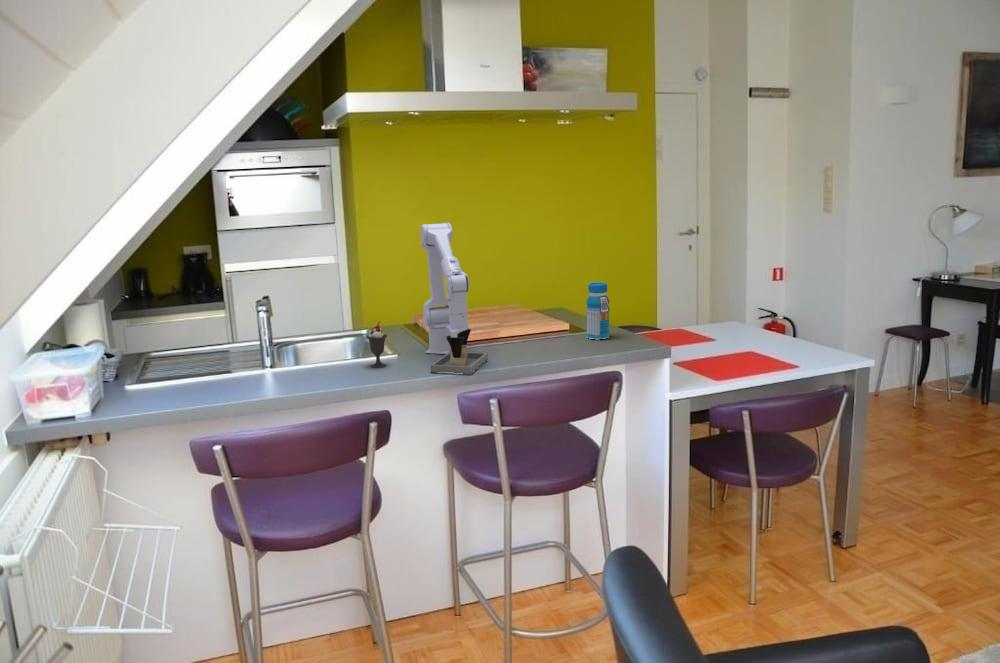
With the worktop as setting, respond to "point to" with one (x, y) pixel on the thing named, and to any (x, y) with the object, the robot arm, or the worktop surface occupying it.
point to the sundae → (377, 344)
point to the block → (459, 361)
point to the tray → (472, 364)
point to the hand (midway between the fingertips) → (459, 354)
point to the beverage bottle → (597, 311)
